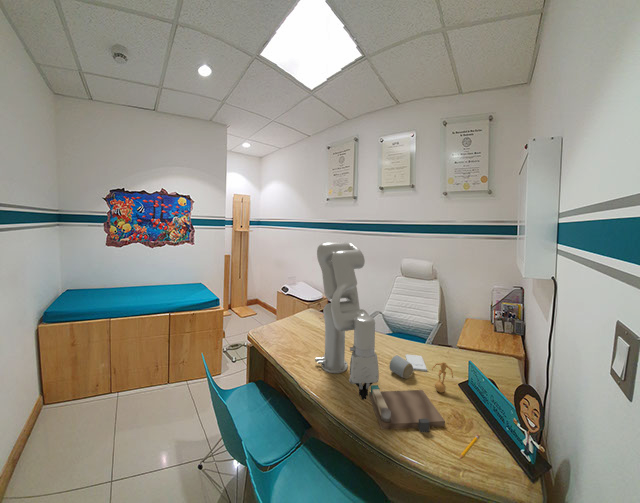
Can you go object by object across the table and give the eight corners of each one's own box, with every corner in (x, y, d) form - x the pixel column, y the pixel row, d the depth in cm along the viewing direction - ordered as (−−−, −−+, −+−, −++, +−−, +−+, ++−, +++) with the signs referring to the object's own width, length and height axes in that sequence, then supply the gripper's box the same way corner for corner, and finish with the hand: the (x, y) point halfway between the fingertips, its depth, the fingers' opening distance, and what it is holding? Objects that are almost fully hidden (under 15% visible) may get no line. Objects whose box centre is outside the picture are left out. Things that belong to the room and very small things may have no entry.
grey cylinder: (404, 382, 108) (405, 365, 107) (388, 373, 115) (389, 357, 114) (417, 374, 114) (418, 358, 114) (402, 366, 121) (403, 351, 120)
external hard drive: (421, 358, 129) (427, 372, 116) (405, 357, 130) (408, 370, 118) (421, 355, 128) (427, 369, 116) (405, 354, 130) (409, 367, 118)
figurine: (427, 389, 104) (429, 362, 103) (432, 382, 108) (434, 356, 107) (449, 398, 98) (451, 370, 97) (453, 391, 103) (455, 364, 101)
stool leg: (392, 422, 84) (392, 414, 83) (382, 422, 83) (383, 414, 83) (377, 391, 99) (378, 384, 99) (370, 391, 99) (370, 384, 99)
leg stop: (420, 432, 82) (421, 422, 82) (418, 428, 84) (418, 419, 83) (429, 432, 82) (429, 422, 82) (426, 428, 84) (427, 418, 84)
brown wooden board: (381, 429, 83) (381, 424, 83) (368, 396, 99) (369, 391, 99) (444, 426, 85) (445, 421, 85) (422, 394, 101) (422, 389, 100)
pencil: (479, 437, 81) (479, 436, 81) (460, 461, 73) (460, 459, 73) (476, 436, 81) (476, 434, 81) (457, 459, 73) (457, 457, 73)
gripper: (345, 355, 87) (345, 405, 88) (387, 354, 88) (386, 403, 90) (342, 345, 94) (341, 391, 96) (380, 344, 95) (379, 389, 97)
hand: (363, 397), depth 93 cm, fingers closed
